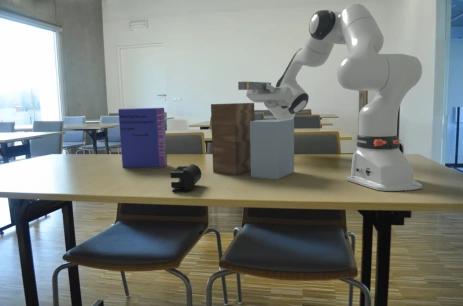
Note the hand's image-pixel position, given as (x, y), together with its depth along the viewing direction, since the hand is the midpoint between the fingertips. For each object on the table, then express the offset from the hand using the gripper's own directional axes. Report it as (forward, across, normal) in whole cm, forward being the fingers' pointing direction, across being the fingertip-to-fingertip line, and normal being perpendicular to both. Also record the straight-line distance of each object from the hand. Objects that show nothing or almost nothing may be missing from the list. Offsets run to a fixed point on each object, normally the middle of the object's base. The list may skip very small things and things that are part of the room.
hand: (261, 85), depth 150 cm
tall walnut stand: (+4, 0, +39) cm, 39 cm away
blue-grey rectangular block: (+4, +16, +39) cm, 42 cm away
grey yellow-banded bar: (+4, 0, +4) cm, 6 cm away
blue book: (+11, -38, +44) cm, 59 cm away
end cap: (+30, +2, +54) cm, 62 cm away
